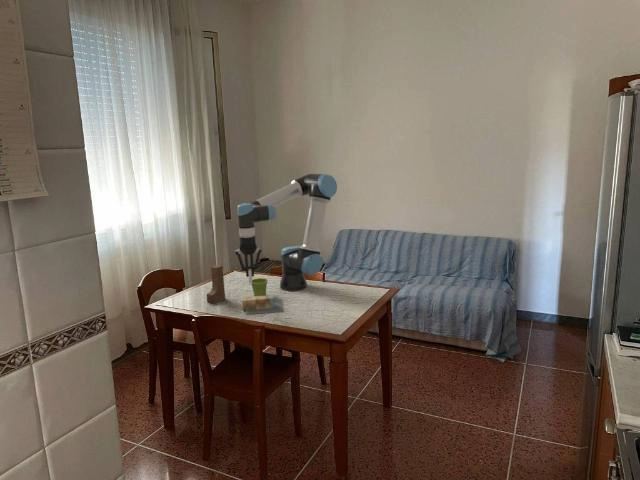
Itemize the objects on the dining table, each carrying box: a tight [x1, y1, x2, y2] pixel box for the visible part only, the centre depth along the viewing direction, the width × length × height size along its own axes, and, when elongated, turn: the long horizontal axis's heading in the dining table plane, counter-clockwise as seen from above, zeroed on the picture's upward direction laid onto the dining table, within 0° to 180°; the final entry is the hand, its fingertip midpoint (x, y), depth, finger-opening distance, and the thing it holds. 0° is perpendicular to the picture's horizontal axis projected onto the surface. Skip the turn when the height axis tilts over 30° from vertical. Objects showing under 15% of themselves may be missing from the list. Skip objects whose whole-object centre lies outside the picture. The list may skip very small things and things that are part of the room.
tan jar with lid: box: [242, 294, 274, 311], centre depth 232 cm, size 5×5×15 cm
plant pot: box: [250, 277, 269, 297], centre depth 250 cm, size 9×9×9 cm
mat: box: [245, 299, 284, 315], centre depth 233 cm, size 18×16×1 cm
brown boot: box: [206, 264, 226, 304], centre depth 245 cm, size 9×4×18 cm, turn 145°
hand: (250, 282), depth 230 cm, fingers closed
